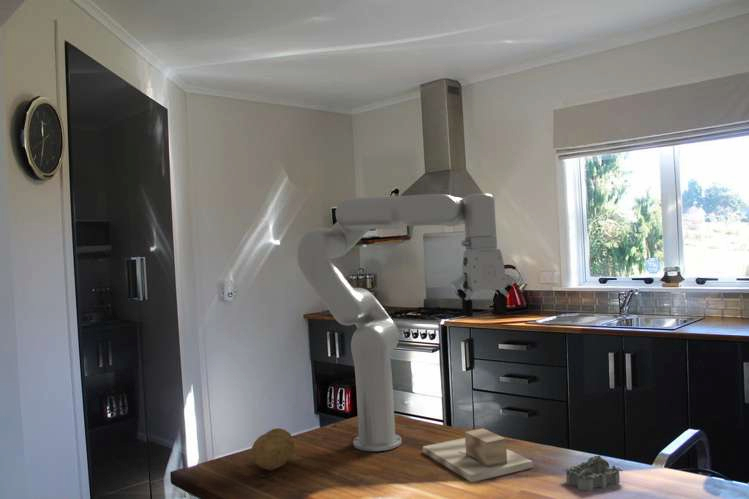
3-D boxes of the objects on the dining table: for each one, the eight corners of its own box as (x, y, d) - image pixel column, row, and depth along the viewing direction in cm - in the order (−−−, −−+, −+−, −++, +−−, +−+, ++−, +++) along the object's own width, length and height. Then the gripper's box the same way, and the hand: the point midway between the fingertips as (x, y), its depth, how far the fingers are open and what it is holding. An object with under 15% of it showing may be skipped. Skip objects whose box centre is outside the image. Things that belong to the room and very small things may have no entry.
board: (422, 452, 145) (422, 446, 145) (477, 441, 152) (477, 435, 152) (471, 482, 125) (471, 475, 125) (532, 467, 131) (532, 460, 131)
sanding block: (466, 455, 137) (464, 431, 137) (484, 451, 139) (482, 428, 139) (488, 467, 129) (486, 442, 129) (507, 463, 131) (505, 438, 131)
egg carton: (602, 472, 127) (601, 453, 127) (627, 485, 120) (626, 465, 120) (560, 481, 124) (559, 461, 124) (583, 494, 117) (582, 473, 117)
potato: (242, 478, 135) (240, 443, 135) (264, 457, 148) (262, 425, 148) (283, 479, 133) (281, 443, 133) (301, 457, 147) (300, 425, 147)
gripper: (458, 245, 137) (462, 319, 137) (519, 242, 144) (523, 312, 144) (442, 246, 144) (446, 316, 144) (501, 243, 151) (505, 310, 151)
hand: (485, 314), depth 144 cm, fingers open, 9 cm apart
